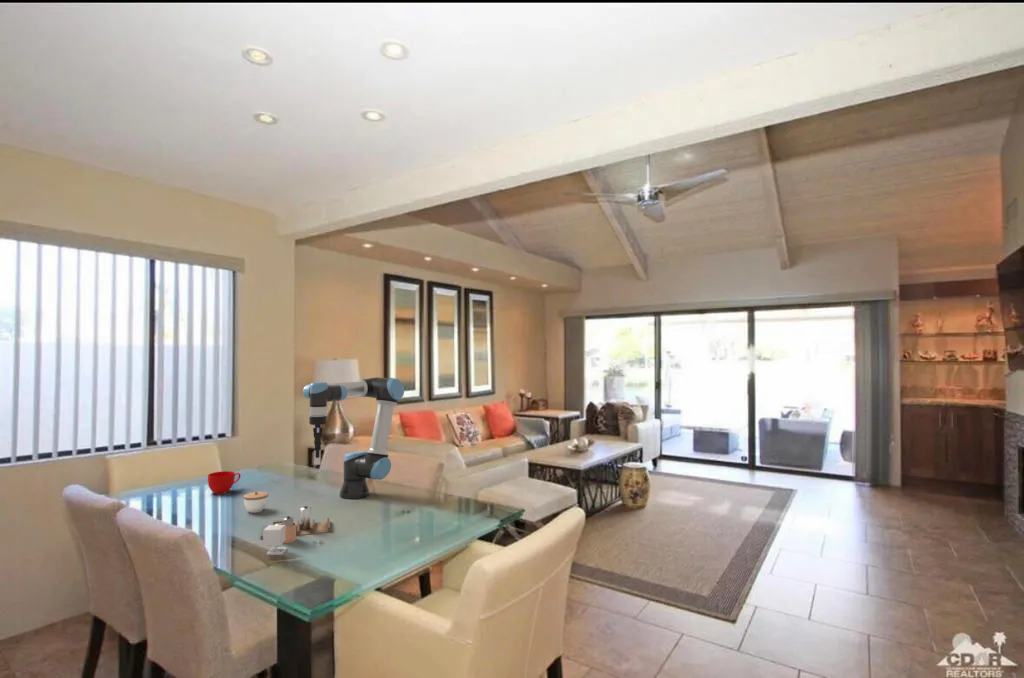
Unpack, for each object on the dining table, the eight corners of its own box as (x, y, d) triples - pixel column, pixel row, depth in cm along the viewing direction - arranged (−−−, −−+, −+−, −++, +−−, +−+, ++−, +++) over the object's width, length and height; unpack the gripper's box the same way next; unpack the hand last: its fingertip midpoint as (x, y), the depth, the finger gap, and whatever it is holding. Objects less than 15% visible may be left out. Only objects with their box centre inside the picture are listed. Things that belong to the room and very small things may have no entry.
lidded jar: (258, 515, 246) (258, 495, 246) (238, 513, 248) (238, 493, 248) (272, 508, 256) (273, 489, 256) (253, 506, 258) (253, 487, 258)
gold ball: (283, 529, 224) (283, 522, 224) (282, 532, 221) (283, 525, 221) (274, 530, 223) (274, 523, 223) (273, 533, 219) (273, 526, 219)
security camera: (268, 550, 203) (269, 524, 203) (287, 550, 204) (287, 524, 204) (262, 556, 197) (263, 530, 197) (281, 556, 197) (282, 529, 198)
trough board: (328, 523, 236) (329, 517, 236) (330, 533, 223) (330, 527, 223) (297, 526, 231) (297, 521, 231) (296, 536, 218) (296, 531, 218)
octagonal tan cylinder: (296, 538, 217) (296, 521, 217) (295, 543, 211) (296, 526, 211) (279, 539, 214) (279, 522, 214) (278, 545, 208) (278, 527, 208)
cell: (310, 526, 228) (310, 504, 228) (310, 529, 224) (310, 507, 225) (300, 527, 227) (300, 505, 227) (300, 530, 223) (300, 508, 223)
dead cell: (293, 538, 215) (293, 514, 215) (292, 541, 211) (293, 517, 212) (282, 539, 214) (283, 515, 214) (281, 542, 210) (282, 518, 210)
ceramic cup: (246, 490, 288) (246, 472, 288) (215, 497, 274) (215, 478, 274) (233, 486, 295) (233, 468, 295) (202, 493, 280) (202, 474, 281)
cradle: (295, 525, 232) (295, 518, 232) (294, 536, 218) (294, 529, 218) (263, 528, 228) (263, 521, 228) (260, 540, 213) (260, 533, 213)
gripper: (309, 412, 252) (308, 456, 251) (309, 419, 228) (308, 467, 228) (325, 412, 254) (324, 455, 254) (327, 418, 231) (326, 466, 231)
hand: (317, 461), depth 241 cm, fingers open, 13 cm apart
